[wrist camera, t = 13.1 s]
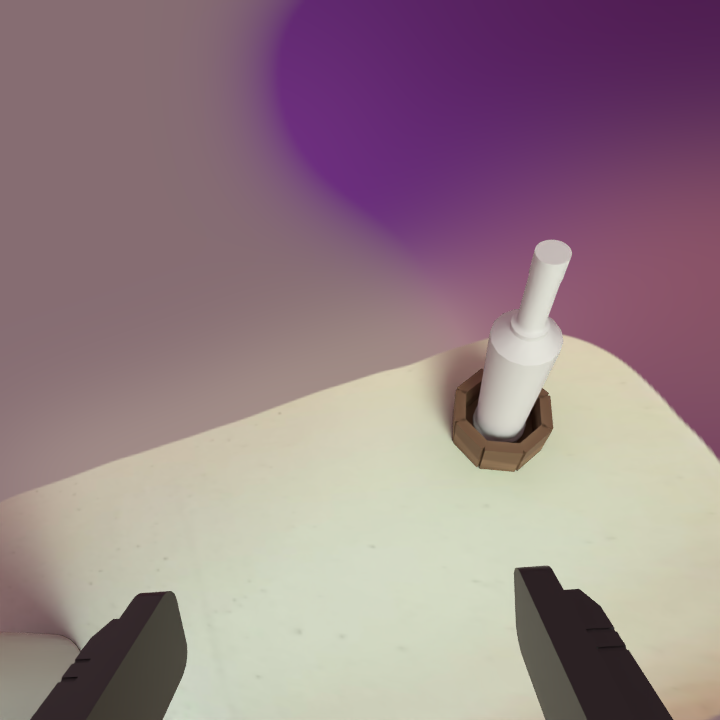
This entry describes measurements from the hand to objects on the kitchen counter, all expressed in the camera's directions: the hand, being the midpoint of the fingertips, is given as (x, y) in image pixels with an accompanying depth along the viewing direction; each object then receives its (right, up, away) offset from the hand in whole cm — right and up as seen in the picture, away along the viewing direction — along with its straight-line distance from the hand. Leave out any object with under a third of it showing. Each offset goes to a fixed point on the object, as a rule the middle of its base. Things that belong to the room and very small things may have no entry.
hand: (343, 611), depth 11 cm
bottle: (+15, -1, +37) cm, 40 cm away
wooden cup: (+15, -2, +38) cm, 41 cm away
